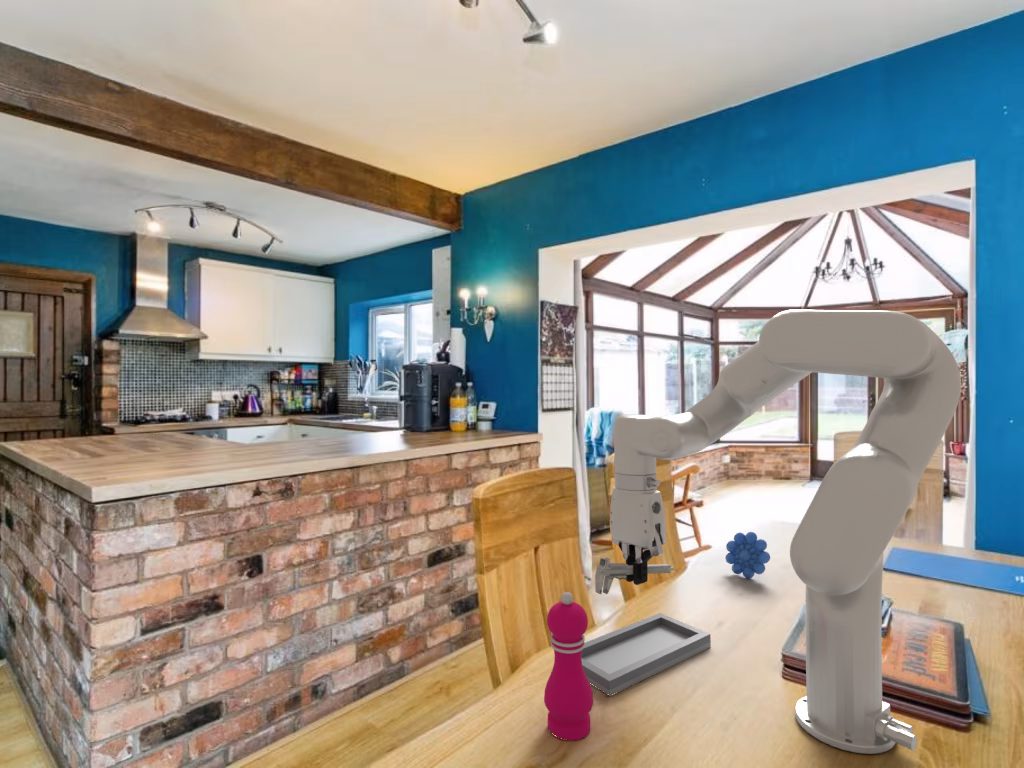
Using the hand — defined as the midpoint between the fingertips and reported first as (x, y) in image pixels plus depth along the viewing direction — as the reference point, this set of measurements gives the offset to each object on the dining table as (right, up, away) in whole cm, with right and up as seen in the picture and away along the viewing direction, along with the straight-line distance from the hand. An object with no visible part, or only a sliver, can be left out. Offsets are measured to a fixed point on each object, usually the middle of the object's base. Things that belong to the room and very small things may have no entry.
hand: (636, 581), depth 102 cm
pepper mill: (-15, -15, -20) cm, 29 cm away
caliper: (0, 0, 0) cm, 0 cm away
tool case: (0, -14, 0) cm, 14 cm away
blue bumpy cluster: (+37, -13, +39) cm, 56 cm away
